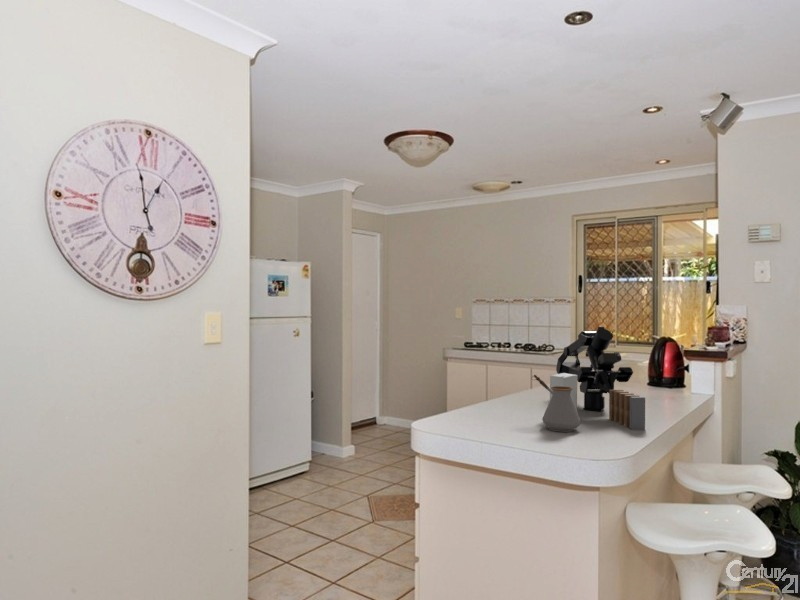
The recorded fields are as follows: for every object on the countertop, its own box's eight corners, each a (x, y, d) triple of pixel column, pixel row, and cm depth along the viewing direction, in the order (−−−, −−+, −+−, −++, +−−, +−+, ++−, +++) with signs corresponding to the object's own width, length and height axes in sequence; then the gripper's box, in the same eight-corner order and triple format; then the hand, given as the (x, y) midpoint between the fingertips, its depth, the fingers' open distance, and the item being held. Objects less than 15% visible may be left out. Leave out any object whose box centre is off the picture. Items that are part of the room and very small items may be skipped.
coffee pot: (588, 432, 164) (589, 382, 164) (556, 434, 160) (557, 384, 160) (547, 417, 184) (548, 373, 184) (518, 419, 181) (518, 375, 181)
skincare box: (562, 414, 189) (563, 372, 189) (578, 417, 185) (578, 374, 185) (548, 417, 184) (548, 374, 184) (563, 421, 179) (564, 376, 179)
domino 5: (629, 428, 169) (629, 396, 170) (642, 428, 170) (642, 396, 170) (632, 429, 168) (632, 397, 168) (645, 429, 168) (645, 397, 168)
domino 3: (618, 423, 176) (619, 393, 176) (631, 423, 177) (631, 393, 177) (621, 424, 175) (621, 393, 175) (633, 424, 175) (634, 393, 175)
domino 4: (624, 426, 173) (624, 394, 173) (636, 425, 173) (636, 394, 173) (626, 427, 171) (626, 395, 171) (639, 427, 172) (639, 395, 172)
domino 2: (613, 421, 180) (614, 391, 180) (626, 421, 180) (626, 391, 180) (616, 422, 178) (616, 392, 178) (628, 422, 178) (628, 392, 178)
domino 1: (609, 419, 183) (609, 389, 183) (621, 419, 183) (621, 389, 183) (611, 420, 181) (611, 390, 181) (623, 420, 182) (623, 390, 182)
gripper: (579, 344, 190) (593, 379, 179) (630, 344, 192) (647, 379, 181) (570, 364, 198) (583, 399, 187) (619, 364, 199) (635, 399, 188)
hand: (612, 394), depth 185 cm, fingers closed
